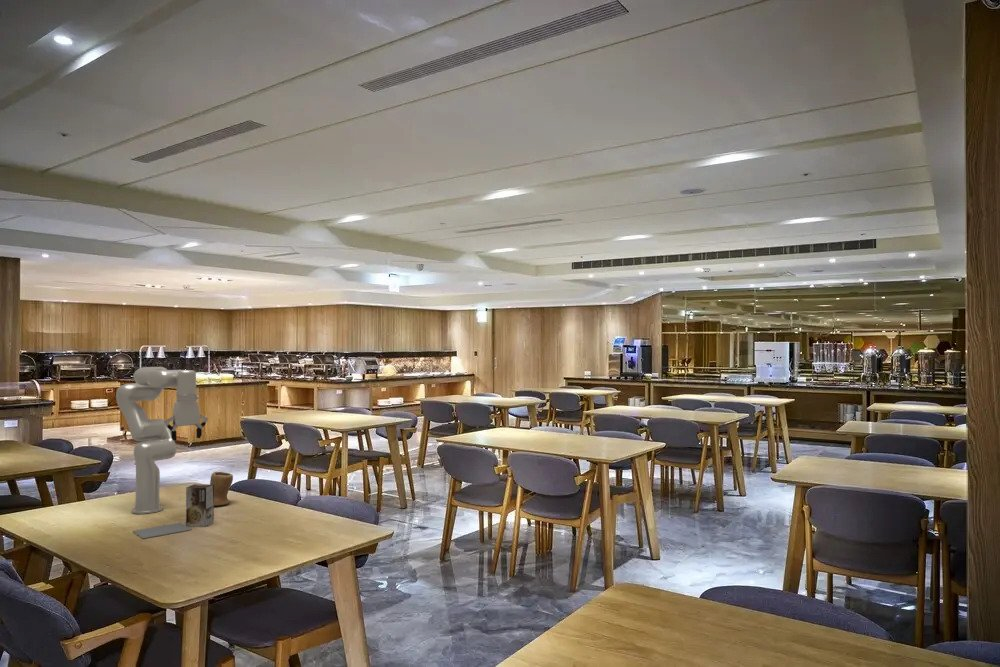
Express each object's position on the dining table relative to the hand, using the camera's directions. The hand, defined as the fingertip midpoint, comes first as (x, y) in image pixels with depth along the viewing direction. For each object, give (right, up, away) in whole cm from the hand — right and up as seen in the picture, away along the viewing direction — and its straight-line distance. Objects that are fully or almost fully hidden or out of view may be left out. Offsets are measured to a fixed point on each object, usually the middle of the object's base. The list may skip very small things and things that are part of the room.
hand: (186, 439), depth 278 cm
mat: (-2, -34, -17) cm, 38 cm away
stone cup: (0, -36, +29) cm, 46 cm away
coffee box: (+9, -35, -7) cm, 36 cm away
